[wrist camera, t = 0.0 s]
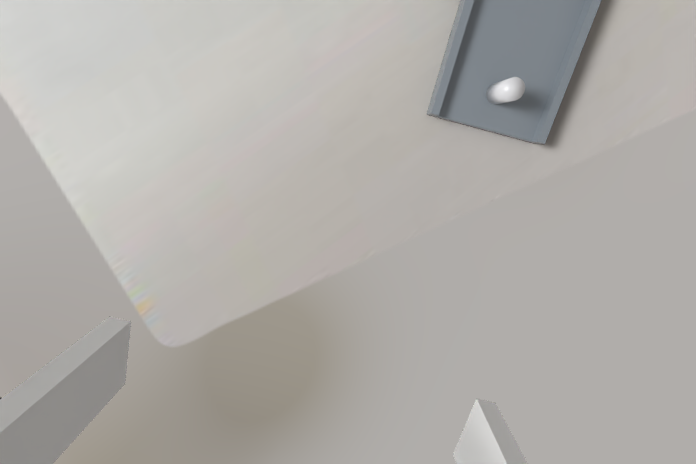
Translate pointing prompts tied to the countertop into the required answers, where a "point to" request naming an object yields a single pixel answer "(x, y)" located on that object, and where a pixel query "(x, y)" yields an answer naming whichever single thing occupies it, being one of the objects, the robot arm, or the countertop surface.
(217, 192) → the countertop surface
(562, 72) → the tray
